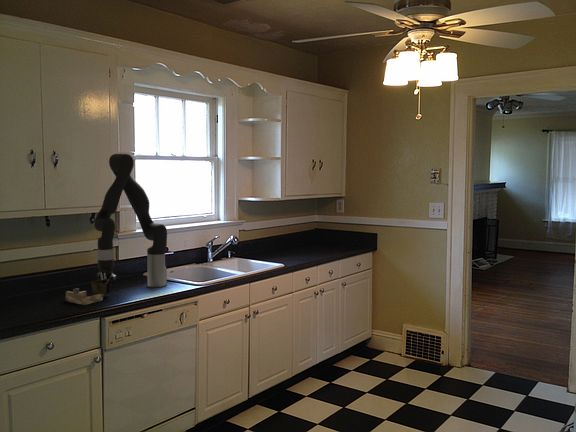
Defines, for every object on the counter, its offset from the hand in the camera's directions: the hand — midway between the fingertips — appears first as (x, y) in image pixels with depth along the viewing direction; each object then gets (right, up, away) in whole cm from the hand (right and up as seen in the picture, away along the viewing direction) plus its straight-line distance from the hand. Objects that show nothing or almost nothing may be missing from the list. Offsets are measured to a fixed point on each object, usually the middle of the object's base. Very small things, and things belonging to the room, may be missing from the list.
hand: (106, 293), depth 273 cm
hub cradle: (-7, -2, -11) cm, 13 cm away
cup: (-2, -2, -3) cm, 4 cm away
